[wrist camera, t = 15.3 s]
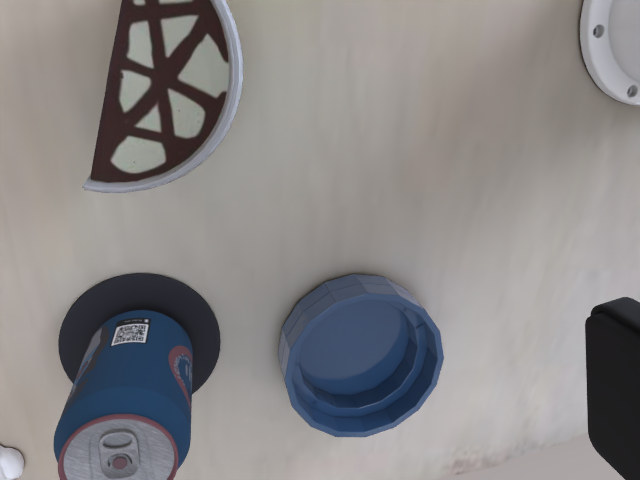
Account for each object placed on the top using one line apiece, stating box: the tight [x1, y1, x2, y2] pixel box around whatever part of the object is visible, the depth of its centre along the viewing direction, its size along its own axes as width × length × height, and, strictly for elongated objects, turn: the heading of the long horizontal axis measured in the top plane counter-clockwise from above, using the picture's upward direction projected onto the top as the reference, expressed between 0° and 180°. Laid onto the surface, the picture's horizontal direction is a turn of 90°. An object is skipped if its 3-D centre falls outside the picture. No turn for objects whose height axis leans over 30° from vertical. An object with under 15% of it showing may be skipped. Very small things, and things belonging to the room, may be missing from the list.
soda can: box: [54, 310, 193, 480], centre depth 32 cm, size 7×7×12 cm
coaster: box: [59, 273, 220, 394], centre depth 38 cm, size 11×11×1 cm
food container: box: [82, 0, 243, 193], centre depth 28 cm, size 12×6×10 cm, turn 163°
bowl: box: [278, 274, 444, 437], centre depth 40 cm, size 12×12×4 cm
